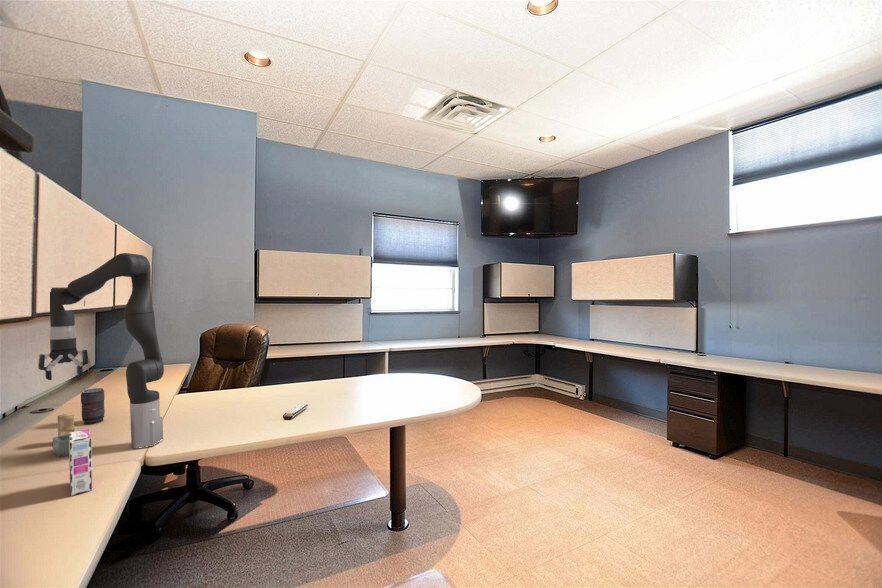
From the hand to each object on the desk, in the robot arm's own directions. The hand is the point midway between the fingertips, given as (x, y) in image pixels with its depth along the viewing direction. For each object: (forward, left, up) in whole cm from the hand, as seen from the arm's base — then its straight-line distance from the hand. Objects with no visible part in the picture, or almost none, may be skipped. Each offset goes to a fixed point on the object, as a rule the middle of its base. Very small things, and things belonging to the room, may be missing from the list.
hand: (64, 377), depth 156 cm
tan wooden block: (0, 0, -26) cm, 26 cm away
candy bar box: (-36, +39, -26) cm, 59 cm away
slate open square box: (-9, +9, -26) cm, 29 cm away
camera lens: (+8, -24, -26) cm, 36 cm away
